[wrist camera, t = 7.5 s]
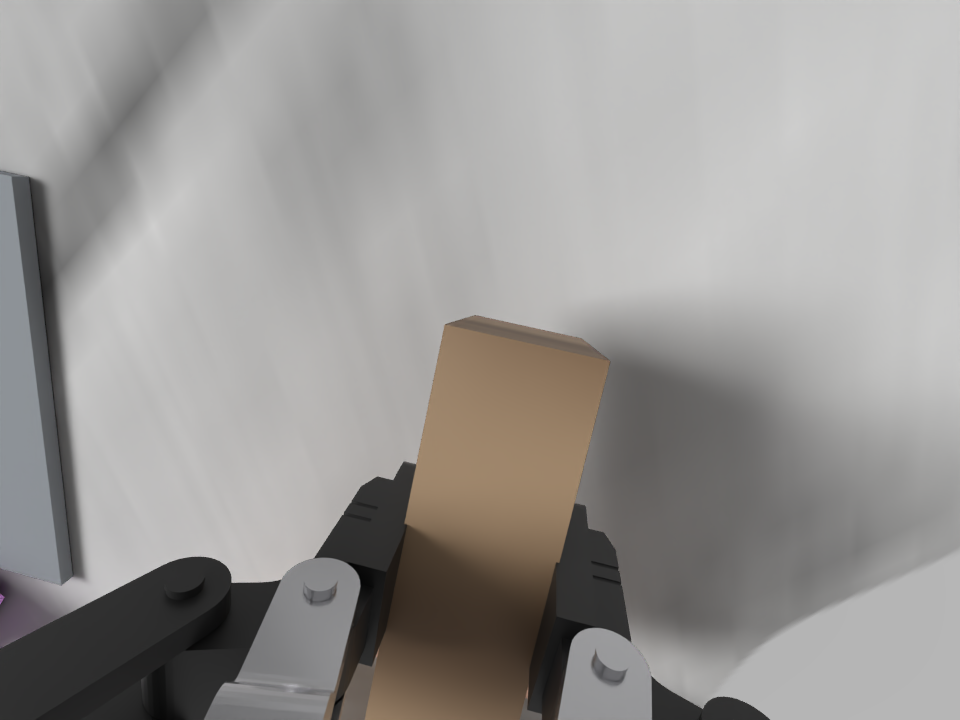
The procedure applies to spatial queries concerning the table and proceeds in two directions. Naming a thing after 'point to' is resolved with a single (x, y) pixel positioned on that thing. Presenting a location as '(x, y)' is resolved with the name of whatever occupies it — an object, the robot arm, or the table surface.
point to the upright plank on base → (483, 524)
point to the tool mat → (27, 405)
